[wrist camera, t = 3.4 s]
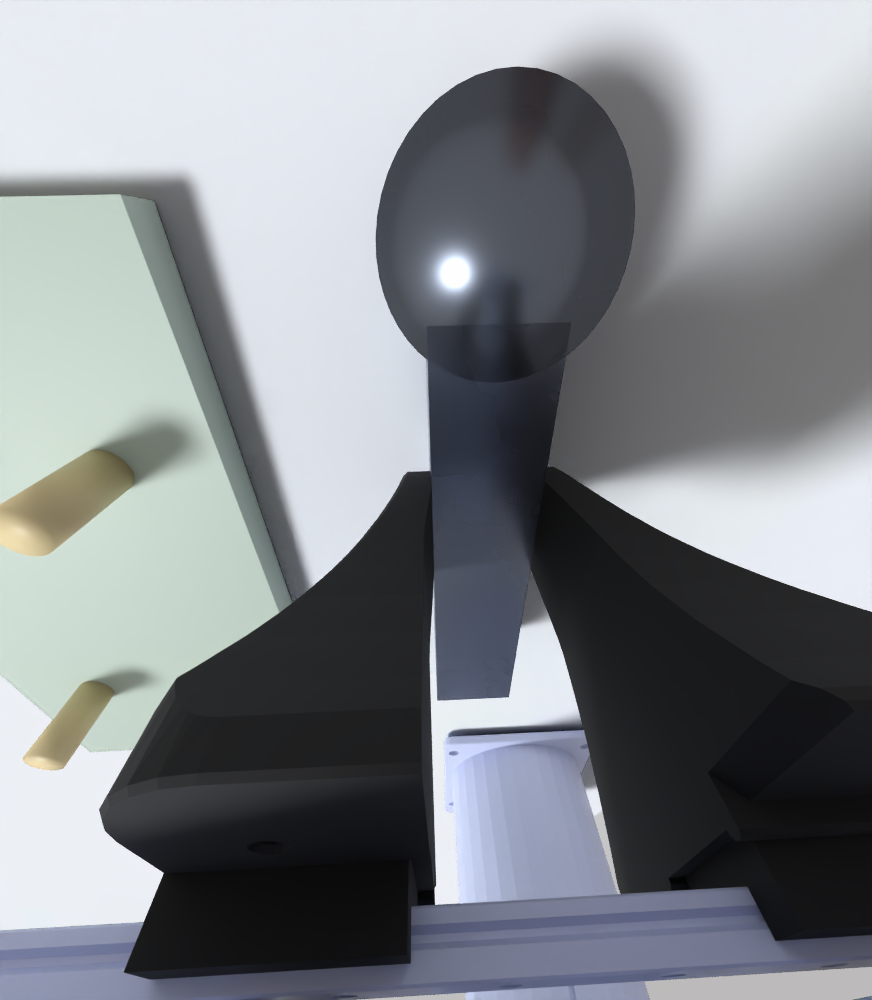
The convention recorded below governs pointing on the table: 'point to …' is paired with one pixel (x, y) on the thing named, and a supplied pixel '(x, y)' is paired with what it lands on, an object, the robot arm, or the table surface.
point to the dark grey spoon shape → (498, 326)
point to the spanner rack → (113, 477)
